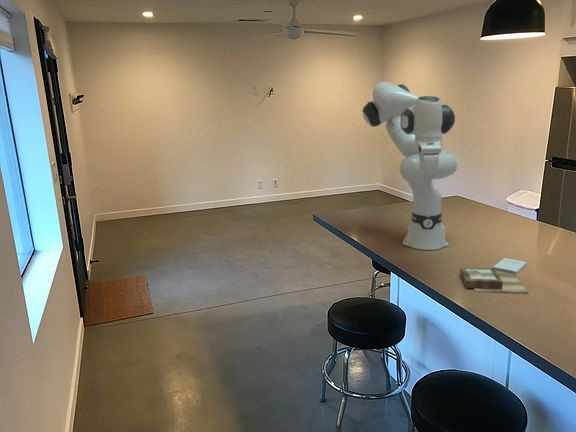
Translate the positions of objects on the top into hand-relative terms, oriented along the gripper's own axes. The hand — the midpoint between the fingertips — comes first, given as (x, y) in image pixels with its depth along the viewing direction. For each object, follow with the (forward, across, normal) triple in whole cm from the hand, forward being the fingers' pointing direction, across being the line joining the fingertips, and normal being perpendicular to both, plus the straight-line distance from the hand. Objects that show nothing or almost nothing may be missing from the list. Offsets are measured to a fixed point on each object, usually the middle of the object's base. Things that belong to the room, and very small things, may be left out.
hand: (427, 186), depth 161 cm
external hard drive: (+33, -8, +30) cm, 45 cm away
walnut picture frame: (+30, +8, +11) cm, 33 cm away
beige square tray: (+32, +8, +22) cm, 39 cm away
